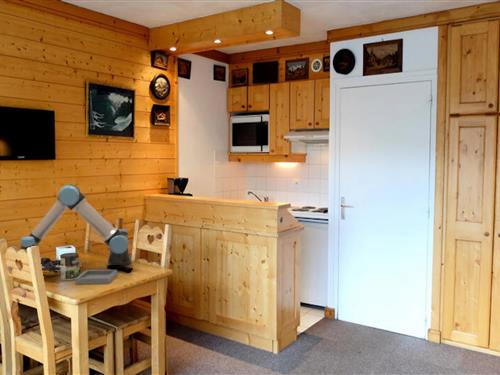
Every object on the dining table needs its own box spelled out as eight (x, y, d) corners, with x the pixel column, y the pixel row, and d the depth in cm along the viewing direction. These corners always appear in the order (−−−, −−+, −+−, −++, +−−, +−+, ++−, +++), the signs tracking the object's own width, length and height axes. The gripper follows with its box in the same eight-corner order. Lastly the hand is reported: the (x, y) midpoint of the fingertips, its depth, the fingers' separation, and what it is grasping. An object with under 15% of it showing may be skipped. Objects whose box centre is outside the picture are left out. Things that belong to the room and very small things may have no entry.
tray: (86, 275, 274) (86, 270, 274) (117, 275, 274) (117, 269, 274) (75, 284, 256) (75, 278, 255) (108, 284, 256) (108, 278, 256)
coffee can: (83, 276, 273) (82, 252, 272) (73, 280, 263) (72, 256, 261) (67, 275, 275) (66, 252, 274) (57, 279, 265) (56, 256, 264)
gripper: (56, 265, 285) (85, 266, 280) (27, 275, 261) (59, 277, 256) (55, 253, 284) (85, 254, 279) (27, 262, 260) (59, 264, 255)
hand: (73, 265), depth 267 cm, fingers open, 13 cm apart
